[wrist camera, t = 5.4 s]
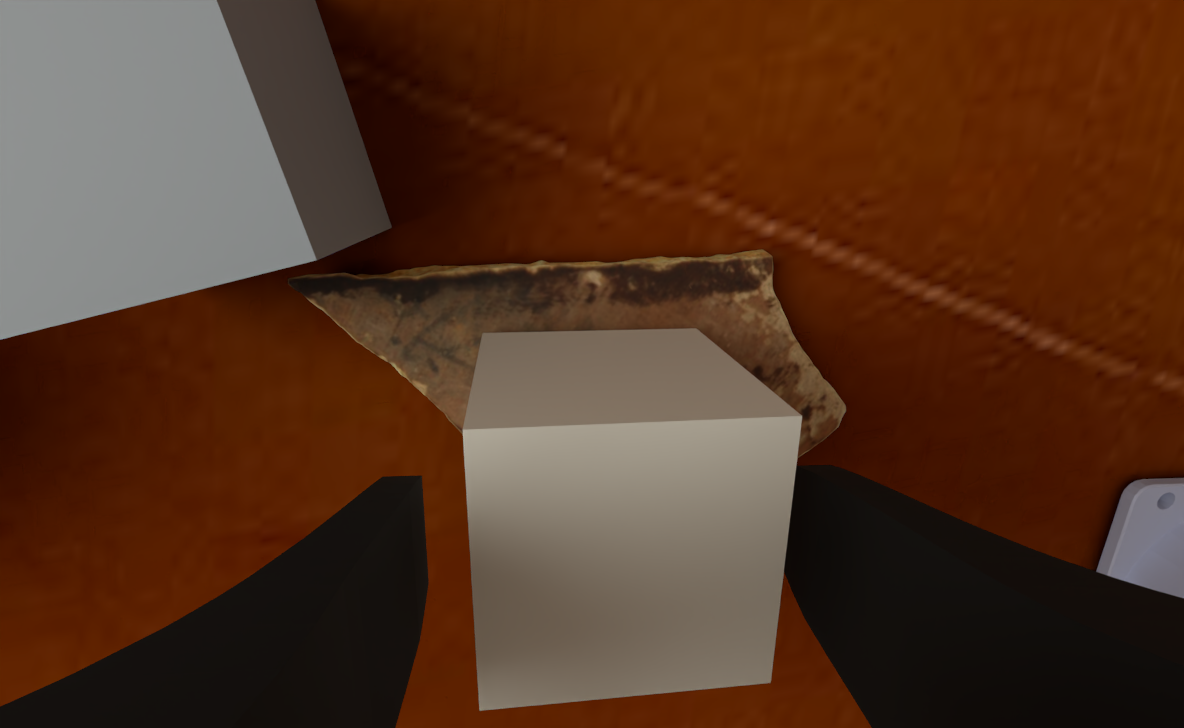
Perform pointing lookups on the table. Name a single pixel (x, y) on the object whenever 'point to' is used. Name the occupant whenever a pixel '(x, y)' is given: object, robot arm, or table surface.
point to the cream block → (623, 515)
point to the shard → (574, 319)
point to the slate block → (168, 152)
